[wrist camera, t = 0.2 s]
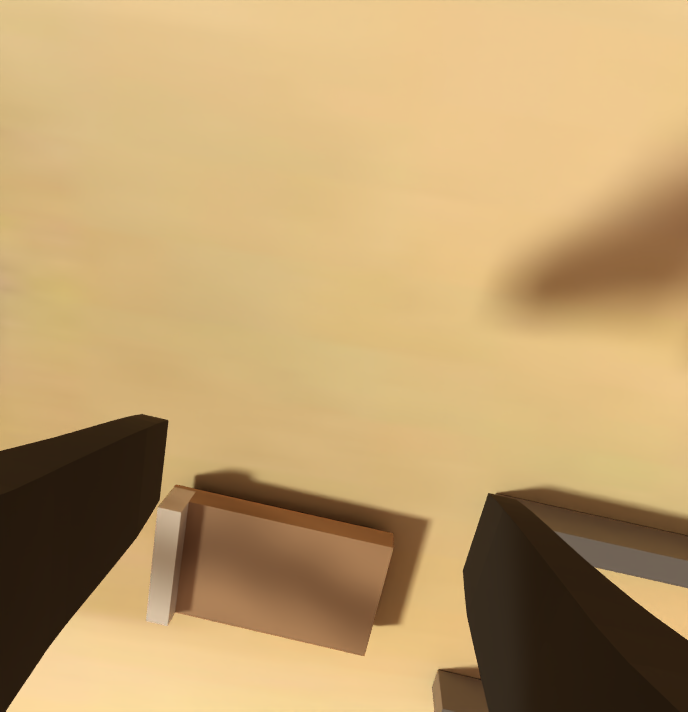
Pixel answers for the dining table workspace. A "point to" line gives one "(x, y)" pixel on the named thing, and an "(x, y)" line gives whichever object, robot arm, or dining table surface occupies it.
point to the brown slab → (267, 569)
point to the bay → (602, 550)
